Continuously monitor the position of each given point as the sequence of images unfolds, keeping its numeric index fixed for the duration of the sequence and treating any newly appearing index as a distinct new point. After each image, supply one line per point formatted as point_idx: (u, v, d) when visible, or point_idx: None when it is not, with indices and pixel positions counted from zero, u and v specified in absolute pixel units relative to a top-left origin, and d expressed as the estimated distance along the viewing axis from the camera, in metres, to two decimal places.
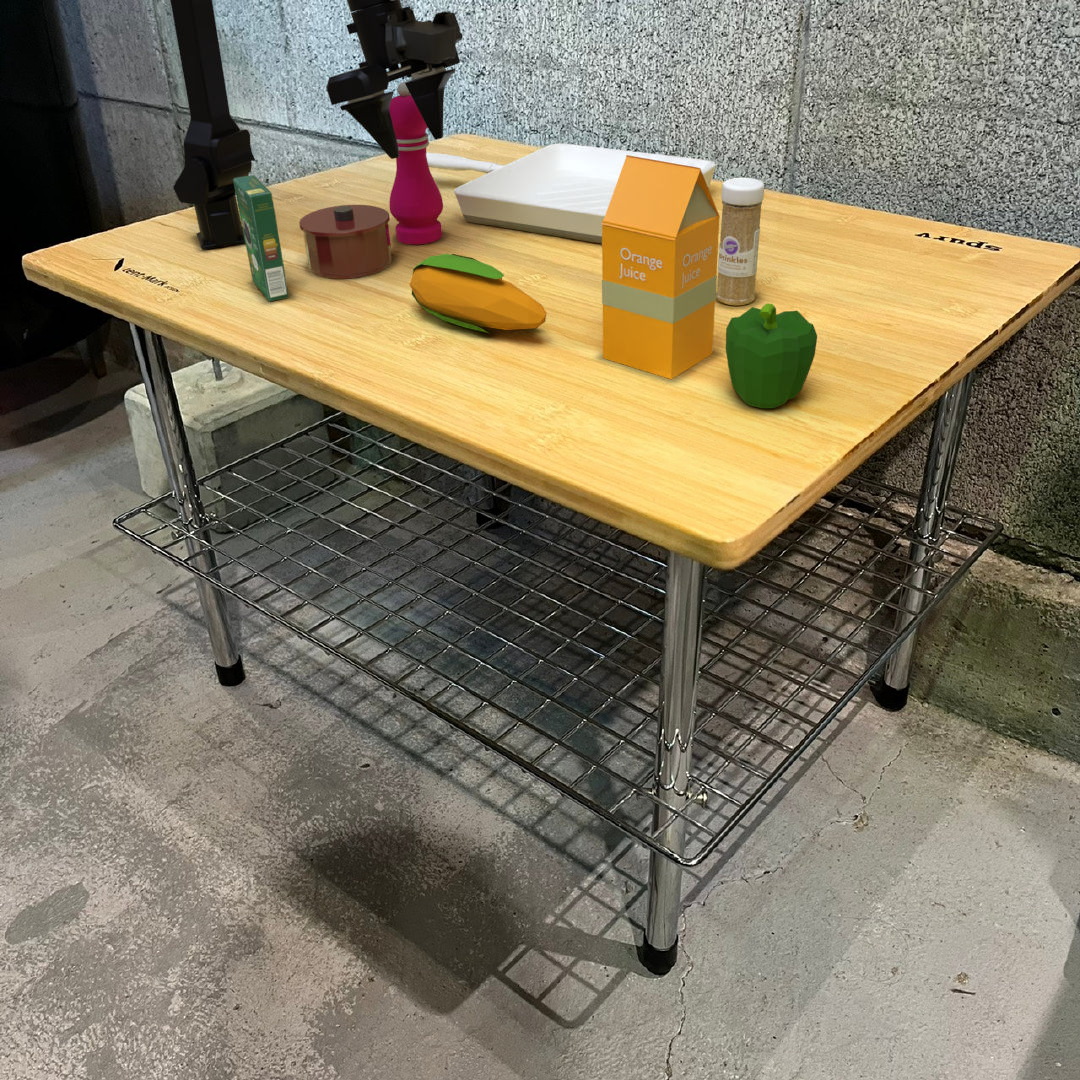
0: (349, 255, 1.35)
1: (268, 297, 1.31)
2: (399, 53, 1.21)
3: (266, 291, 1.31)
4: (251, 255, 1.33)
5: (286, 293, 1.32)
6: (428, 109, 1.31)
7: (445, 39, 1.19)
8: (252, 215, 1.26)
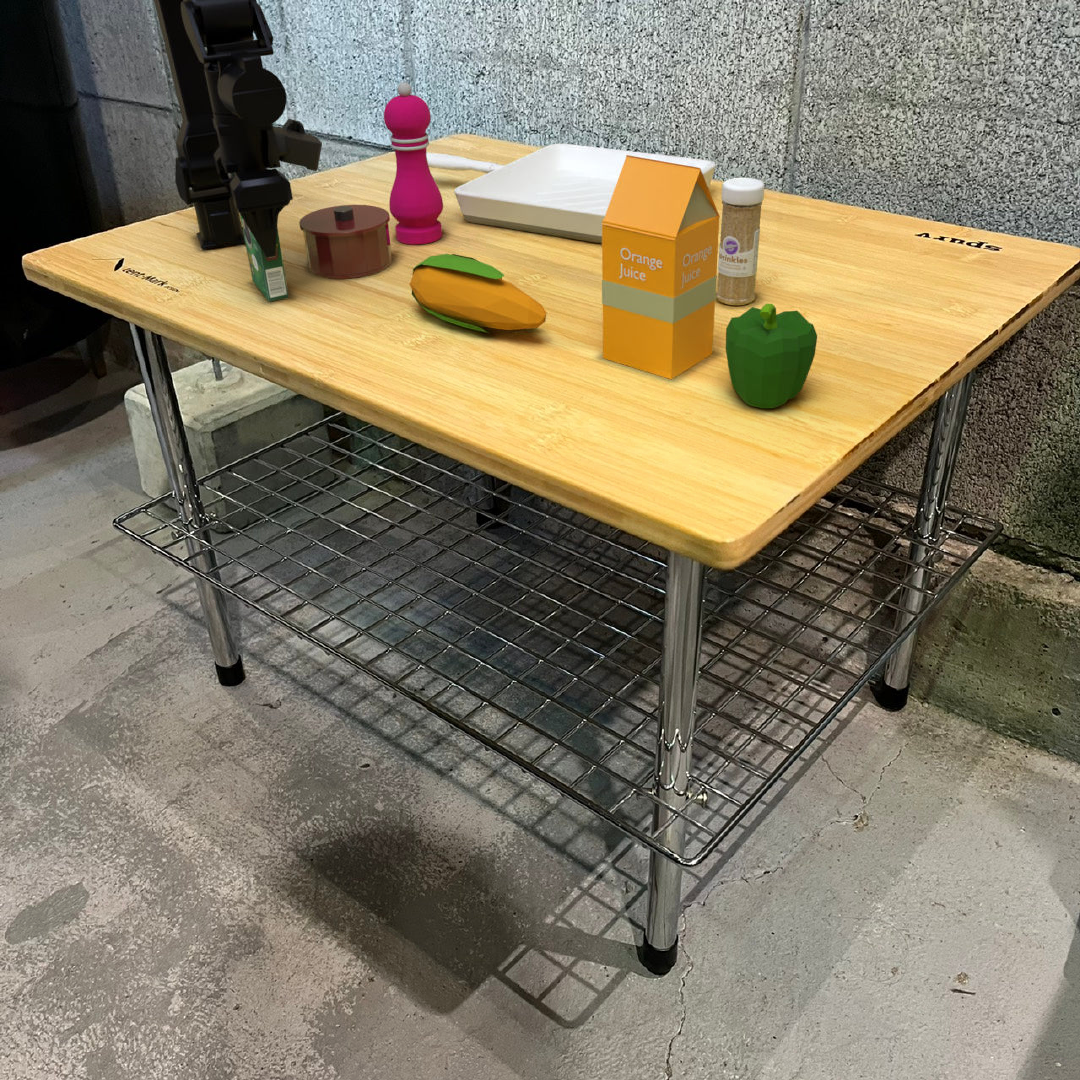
0: (349, 255, 1.35)
1: (268, 297, 1.31)
2: (278, 158, 1.25)
3: (266, 291, 1.31)
4: (251, 255, 1.33)
5: (286, 293, 1.32)
6: None
7: None
8: None
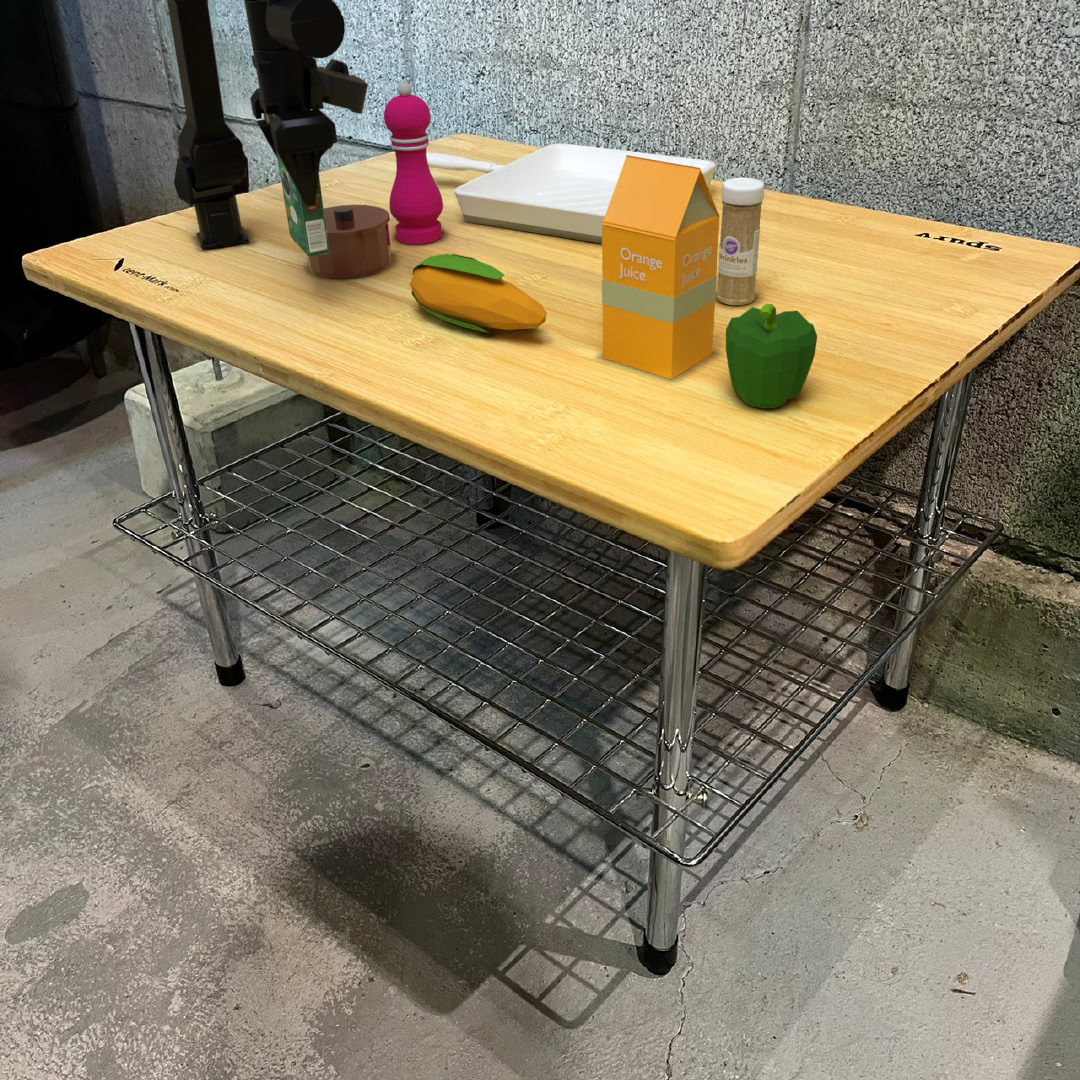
0: (349, 255, 1.35)
1: (308, 252, 1.23)
2: None
3: (306, 245, 1.23)
4: (290, 207, 1.24)
5: (327, 248, 1.24)
6: None
7: None
8: None
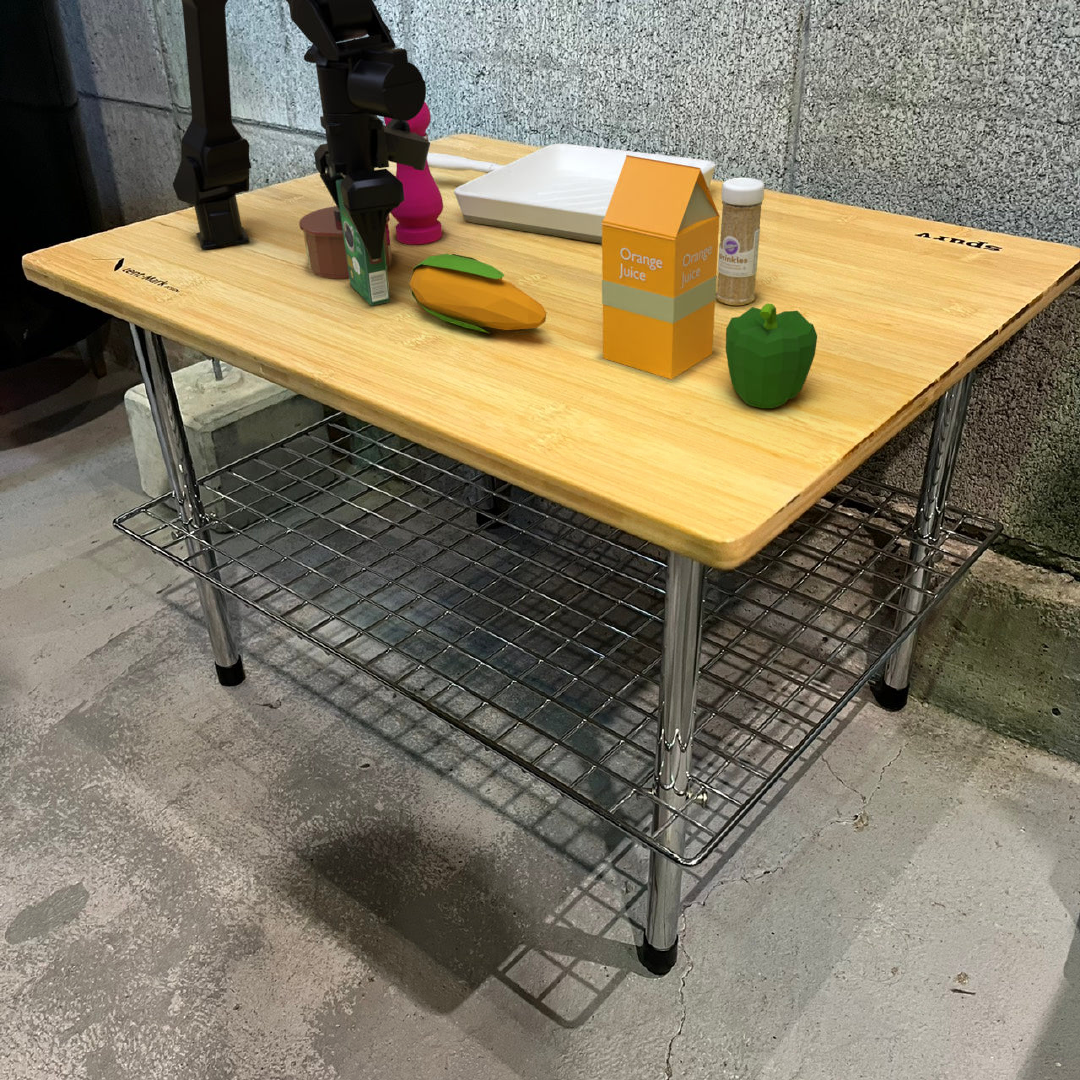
0: None
1: (370, 301, 1.29)
2: None
3: (368, 295, 1.28)
4: (352, 258, 1.30)
5: (388, 297, 1.29)
6: None
7: None
8: None
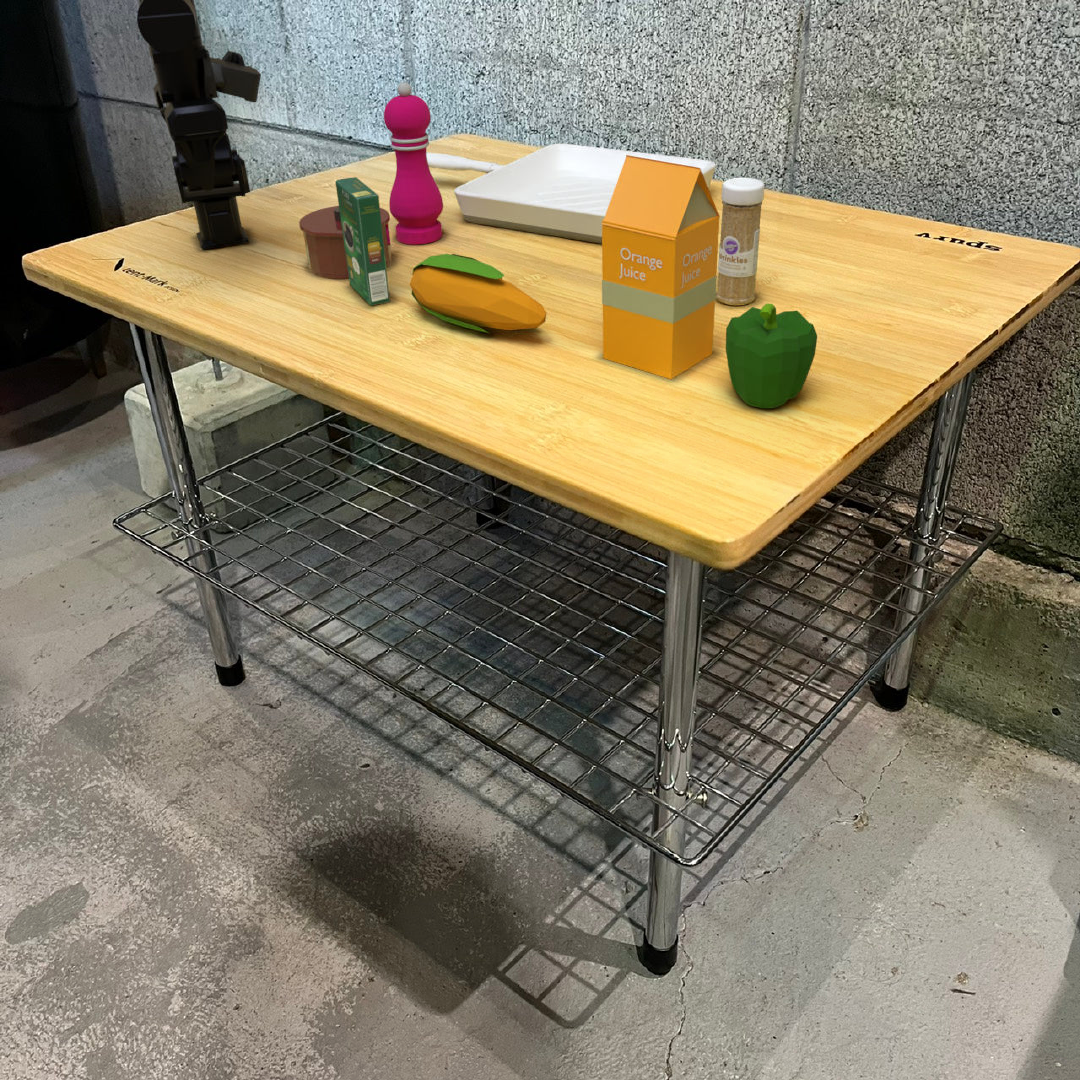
0: None
1: (370, 301, 1.29)
2: (215, 88, 1.23)
3: (368, 295, 1.28)
4: (351, 258, 1.30)
5: (387, 297, 1.29)
6: None
7: None
8: (358, 218, 1.23)
